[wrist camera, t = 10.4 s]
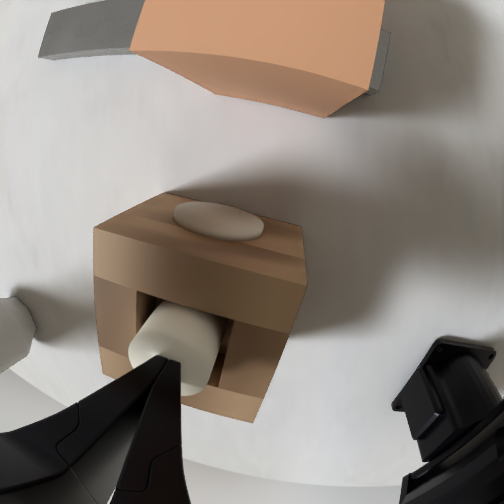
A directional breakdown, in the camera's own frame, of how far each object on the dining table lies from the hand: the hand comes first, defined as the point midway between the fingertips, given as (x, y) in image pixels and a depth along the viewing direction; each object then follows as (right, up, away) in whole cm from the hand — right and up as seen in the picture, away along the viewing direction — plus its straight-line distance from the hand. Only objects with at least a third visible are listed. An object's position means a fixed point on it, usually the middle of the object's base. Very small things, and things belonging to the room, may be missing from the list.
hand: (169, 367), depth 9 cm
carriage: (+4, +13, +2) cm, 14 cm away
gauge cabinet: (+1, +3, +7) cm, 7 cm away
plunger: (0, +1, +3) cm, 3 cm away
